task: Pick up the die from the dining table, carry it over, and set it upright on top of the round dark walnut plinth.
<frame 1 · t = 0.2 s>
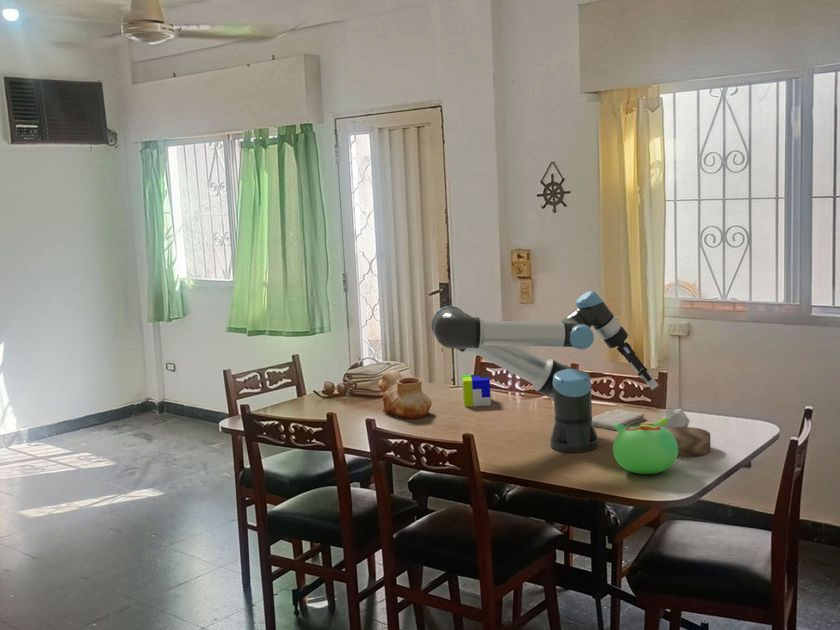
hand: (649, 381, 301), 15 cm above the table, tool tilted 35°, fingers open, 13 cm apart
washcloth: (617, 424, 311), on the table
plinth: (684, 449, 277), on the table
die: (675, 434, 294), on the table
green eared pot: (645, 472, 260), on the table
puzzle toy: (477, 403, 349), on the table
ceramic vessel: (405, 412, 343), on the table
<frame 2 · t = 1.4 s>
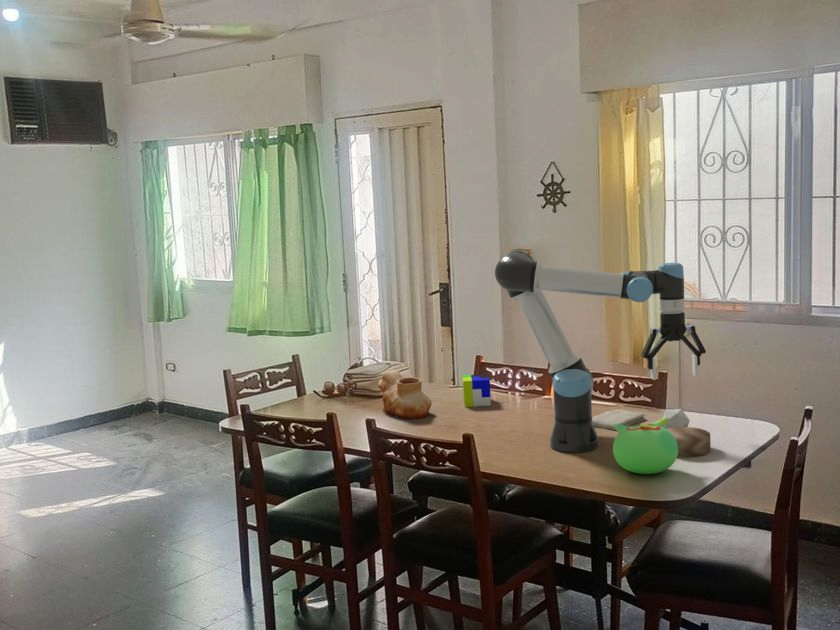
hand: (674, 377, 291), 19 cm above the table, tool pointing down, fingers open, 13 cm apart
nothing on the table moved.
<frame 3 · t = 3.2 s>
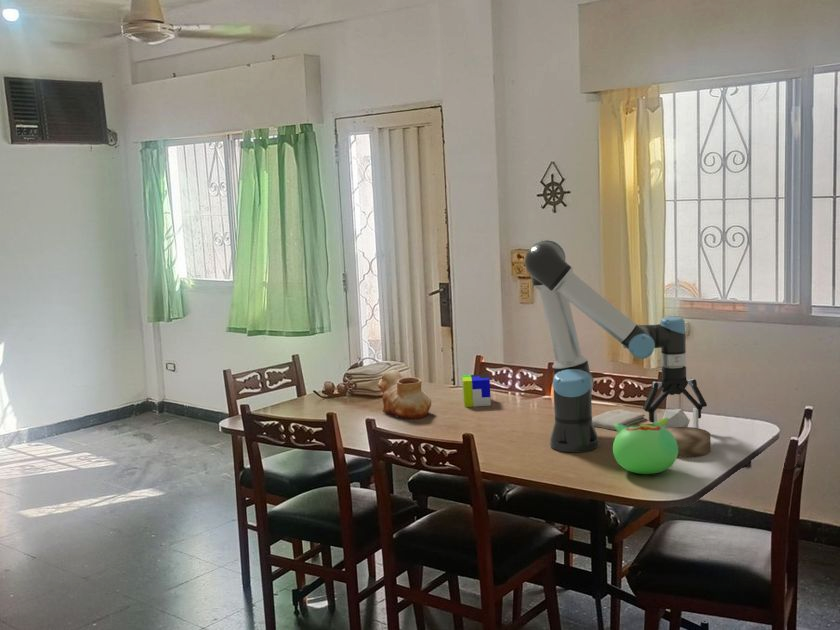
hand: (675, 430, 294), 1 cm above the table, tool pointing down, fingers open, 13 cm apart
nothing on the table moved.
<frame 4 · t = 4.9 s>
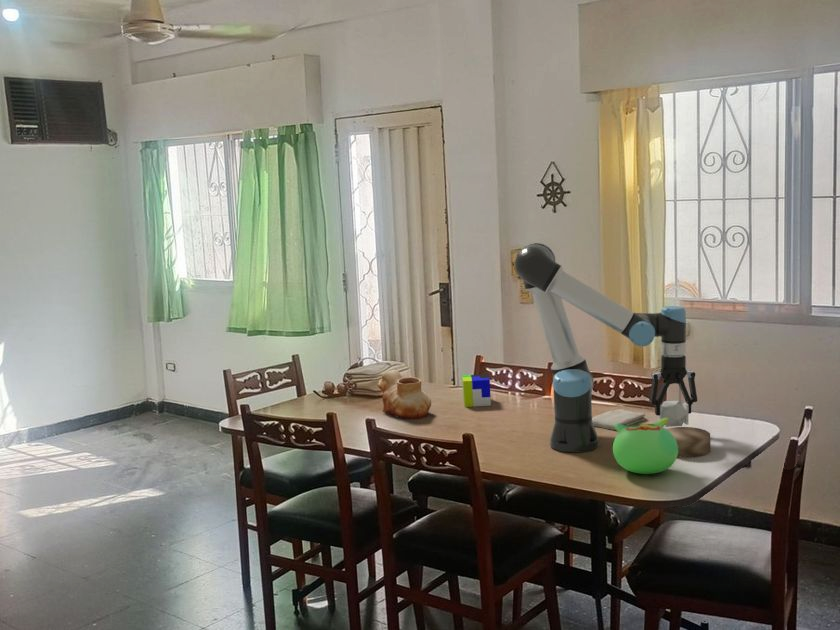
hand: (673, 424, 294), 3 cm above the table, tool pointing down, fingers closed on die, 8 cm apart
die: (672, 425, 294), point 3 cm above the table, touching gripper
everything else where it was.
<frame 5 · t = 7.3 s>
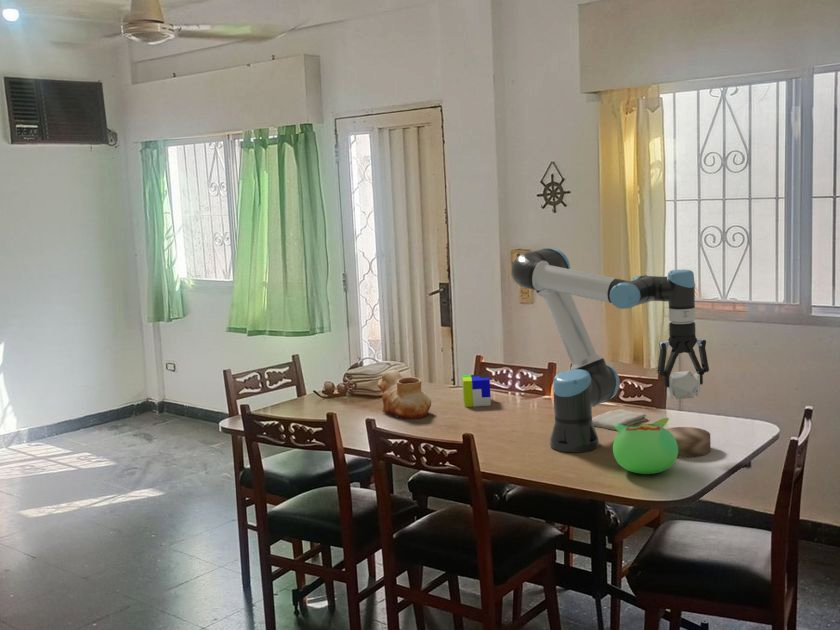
hand: (683, 396, 275), 17 cm above the table, tool pointing down, fingers closed on die, 8 cm apart
die: (683, 398, 275), point 16 cm above the table, touching gripper
everything else where it was.
when the fingers open (7 cm above the table, at t = 9.8 s): die drops 2 cm, resting on plinth.
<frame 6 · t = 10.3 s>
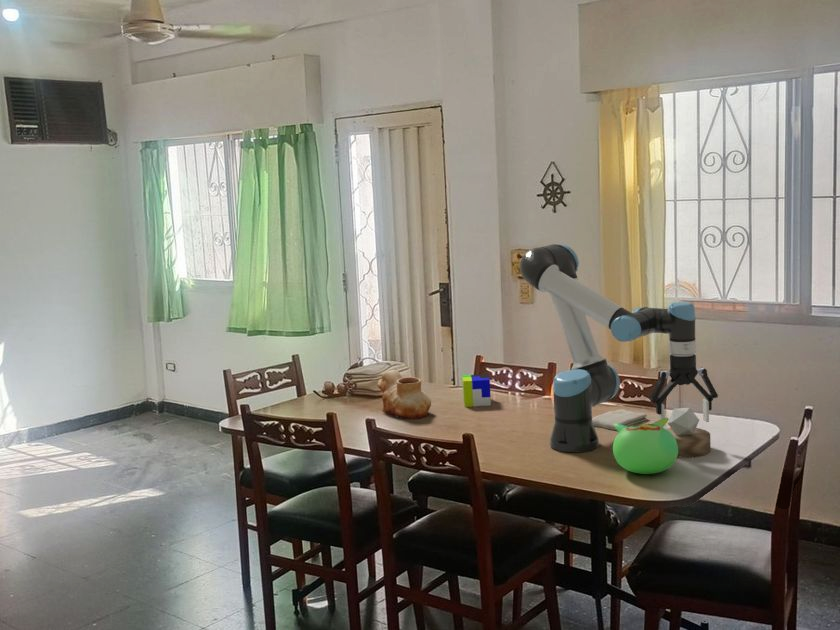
hand: (684, 422, 276), 8 cm above the table, tool pointing down, fingers open, 13 cm apart
die: (683, 434, 277), point 5 cm above the table, touching plinth
everything else where it was.
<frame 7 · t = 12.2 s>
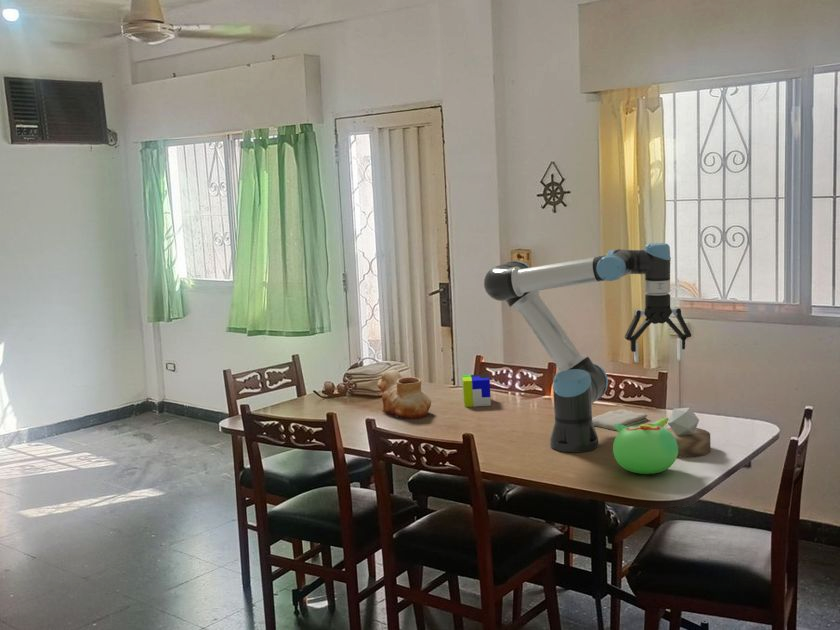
hand: (657, 360, 285), 26 cm above the table, tool pointing down, fingers open, 13 cm apart
nothing on the table moved.
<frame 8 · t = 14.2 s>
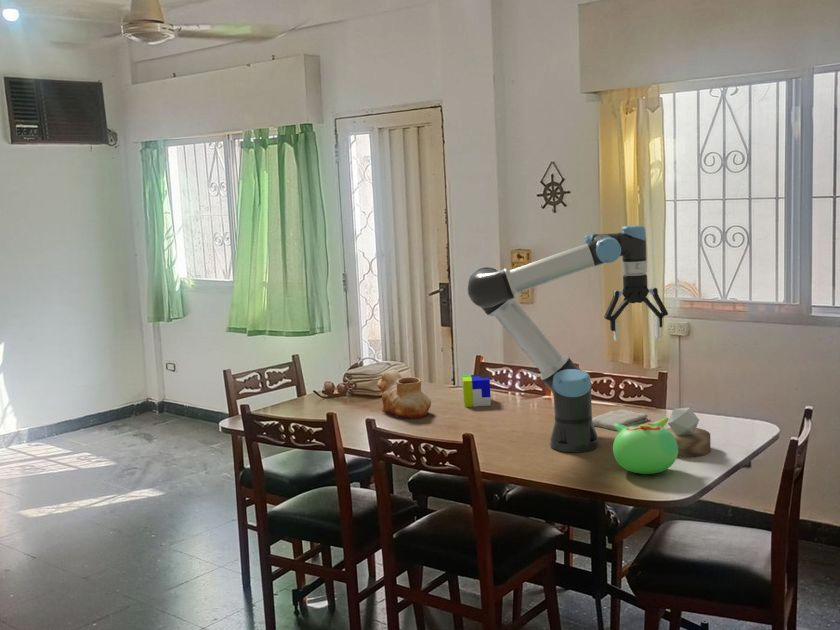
hand: (636, 339, 295), 31 cm above the table, tool pointing down, fingers open, 13 cm apart
nothing on the table moved.
at the end: die inside the target area on the plinth (0.2 cm from its centre), point 4.8 cm above the plinth's base; die tilted 1°; the gripper is holding nothing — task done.
